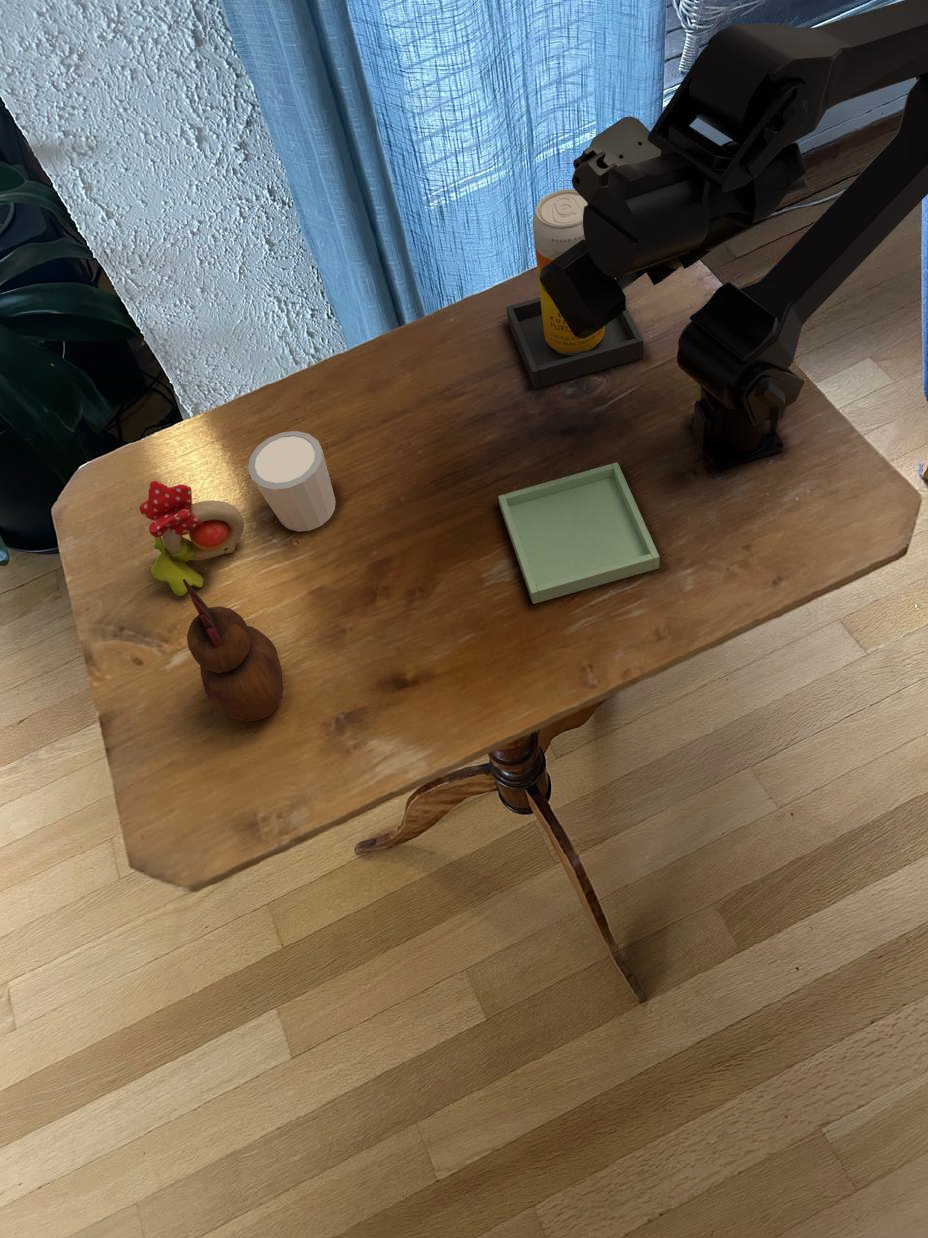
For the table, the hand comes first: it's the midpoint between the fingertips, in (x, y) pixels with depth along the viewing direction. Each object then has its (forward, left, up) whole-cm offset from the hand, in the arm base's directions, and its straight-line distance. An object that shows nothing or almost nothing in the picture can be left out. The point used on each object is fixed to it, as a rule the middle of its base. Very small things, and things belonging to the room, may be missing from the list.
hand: (596, 274), depth 85 cm
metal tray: (+1, -8, -14) cm, 16 cm away
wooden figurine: (+38, +23, -14) cm, 46 cm away
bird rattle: (+41, +7, -14) cm, 43 cm away
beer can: (0, -7, -13) cm, 15 cm away
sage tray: (+8, +16, -14) cm, 23 cm away
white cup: (+31, +4, -14) cm, 34 cm away
